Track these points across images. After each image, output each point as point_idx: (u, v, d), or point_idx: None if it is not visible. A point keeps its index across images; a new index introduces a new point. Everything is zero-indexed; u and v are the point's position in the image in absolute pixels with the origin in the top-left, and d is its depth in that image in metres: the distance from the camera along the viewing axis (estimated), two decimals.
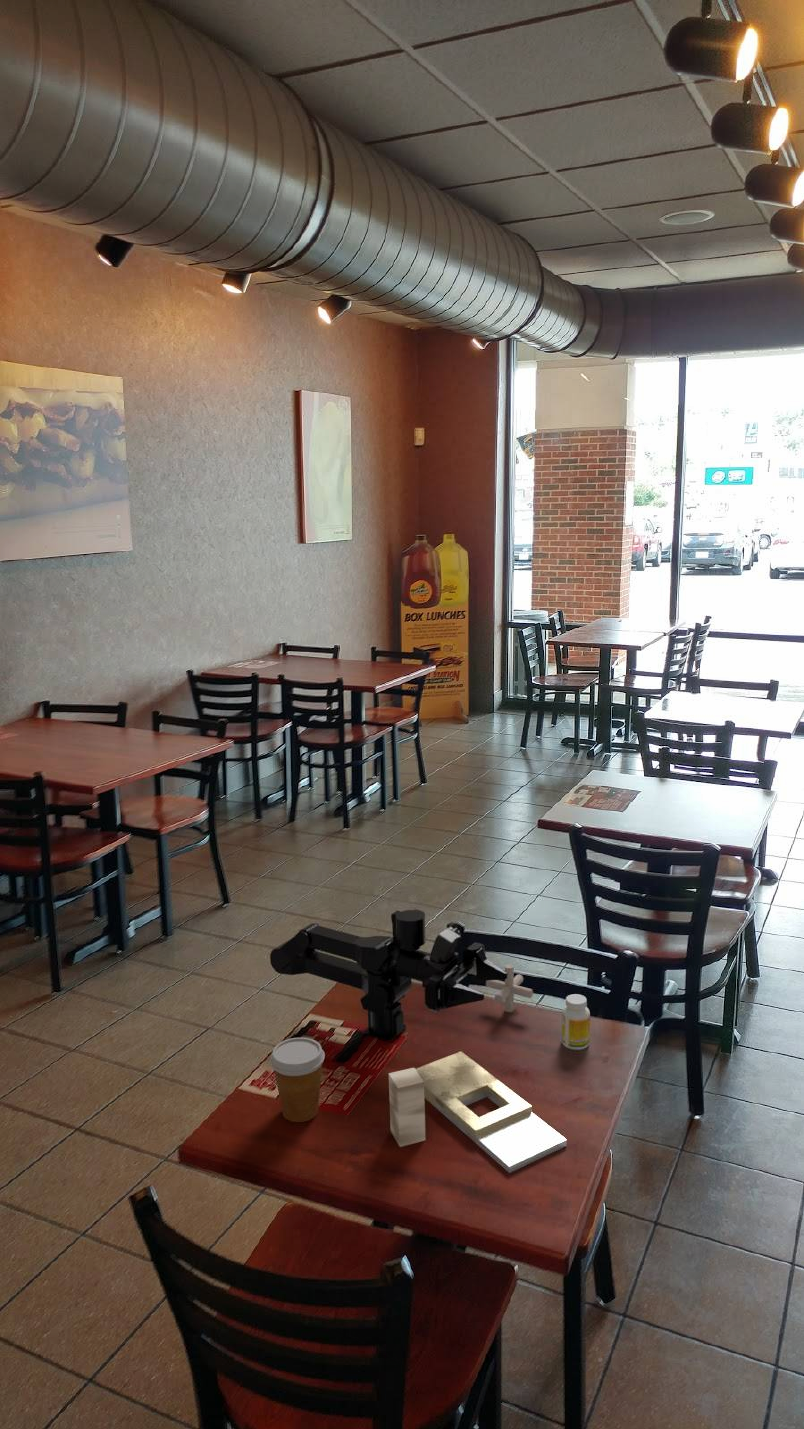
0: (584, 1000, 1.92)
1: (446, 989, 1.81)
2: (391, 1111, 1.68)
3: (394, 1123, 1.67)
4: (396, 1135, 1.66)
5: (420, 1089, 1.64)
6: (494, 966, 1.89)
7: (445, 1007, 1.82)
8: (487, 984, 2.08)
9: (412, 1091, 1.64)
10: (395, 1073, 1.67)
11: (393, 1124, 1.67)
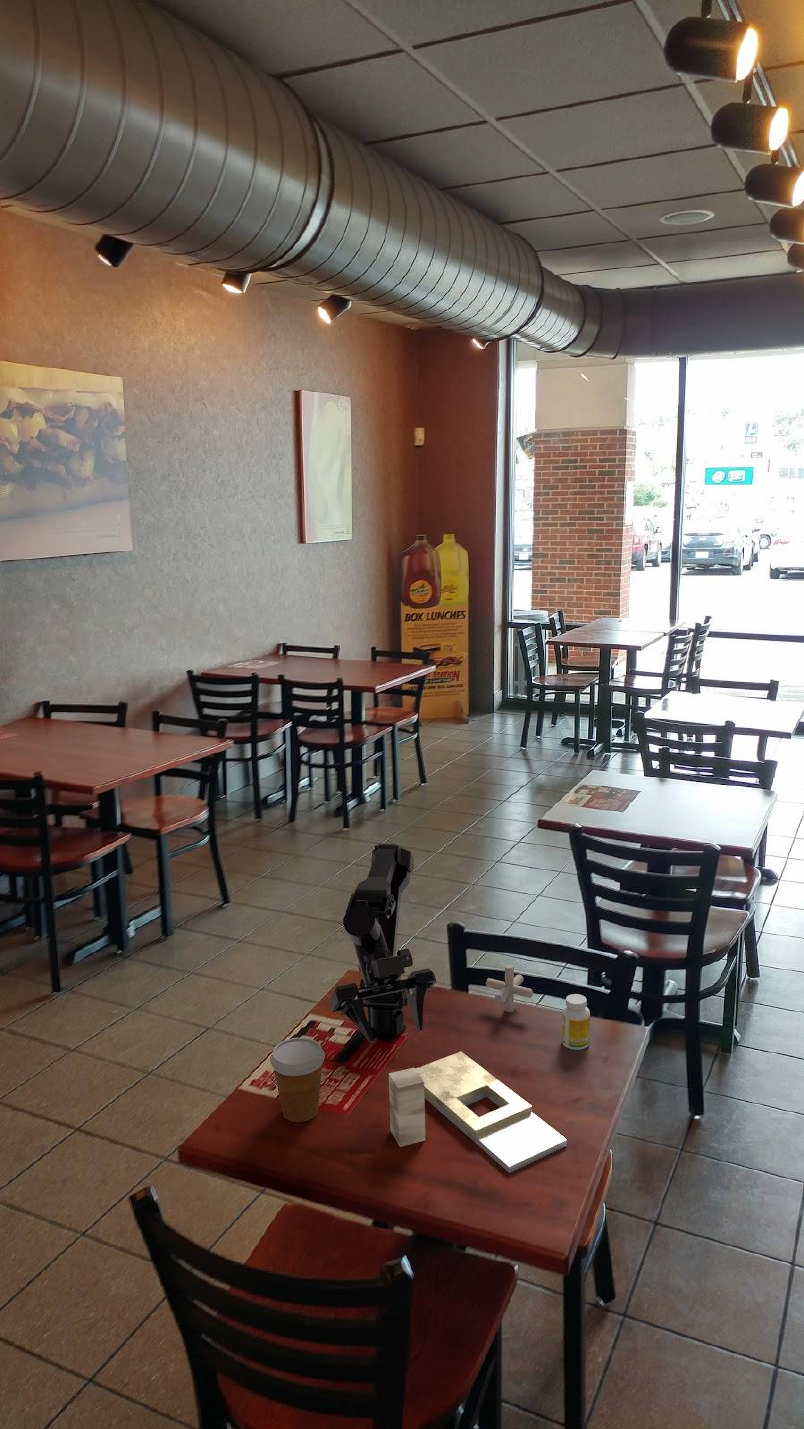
0: (584, 1000, 1.92)
1: (350, 1007, 1.73)
2: (391, 1111, 1.68)
3: (394, 1123, 1.67)
4: (396, 1135, 1.66)
5: (420, 1089, 1.64)
6: (420, 1012, 1.75)
7: (343, 1014, 1.75)
8: (487, 984, 2.08)
9: (413, 1091, 1.64)
10: (395, 1073, 1.67)
11: (393, 1124, 1.67)
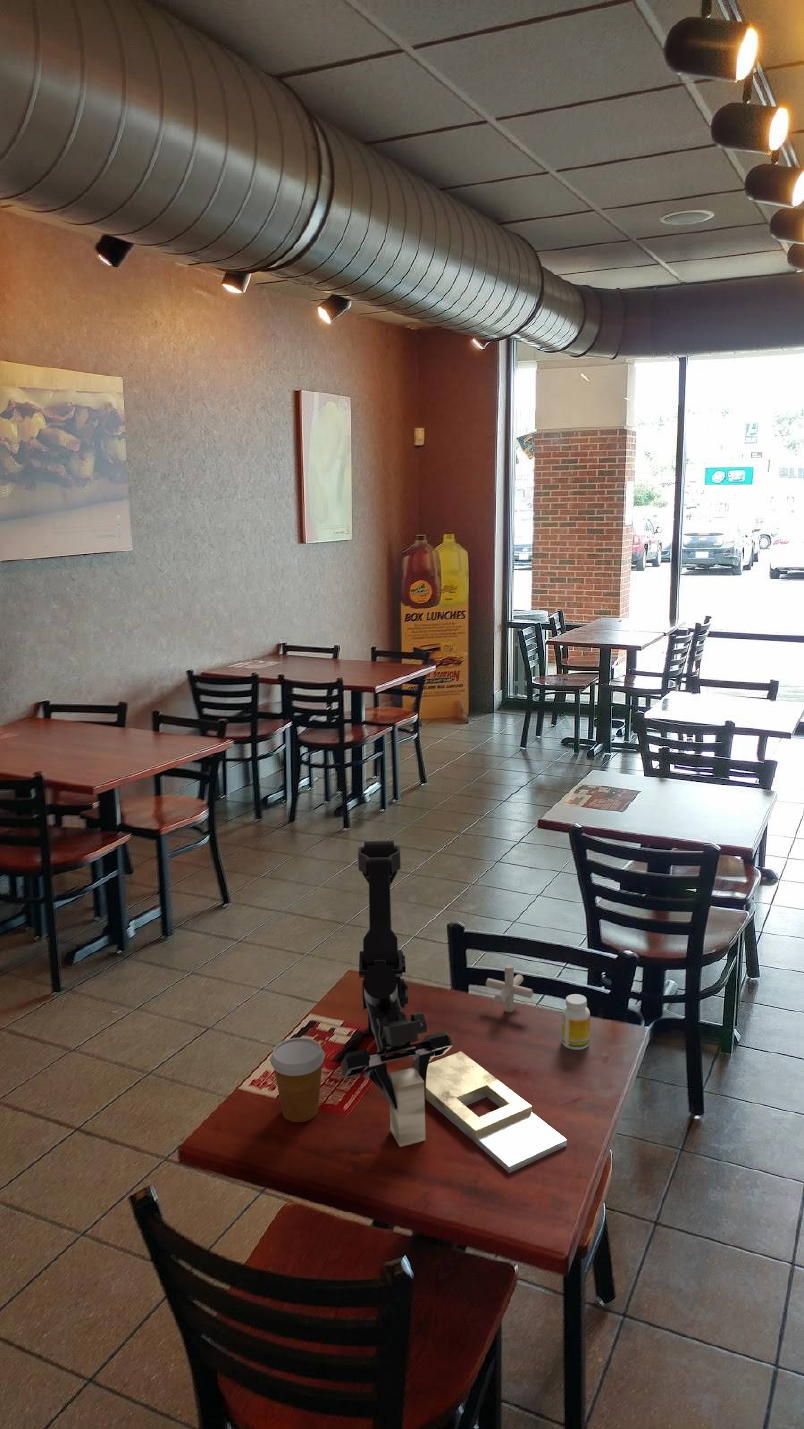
0: (584, 1000, 1.92)
1: (373, 1071, 1.66)
2: (391, 1111, 1.68)
3: (394, 1123, 1.67)
4: (396, 1135, 1.66)
5: (420, 1089, 1.64)
6: None
7: (367, 1077, 1.69)
8: (487, 984, 2.08)
9: (413, 1091, 1.64)
10: (395, 1073, 1.67)
11: (393, 1124, 1.67)
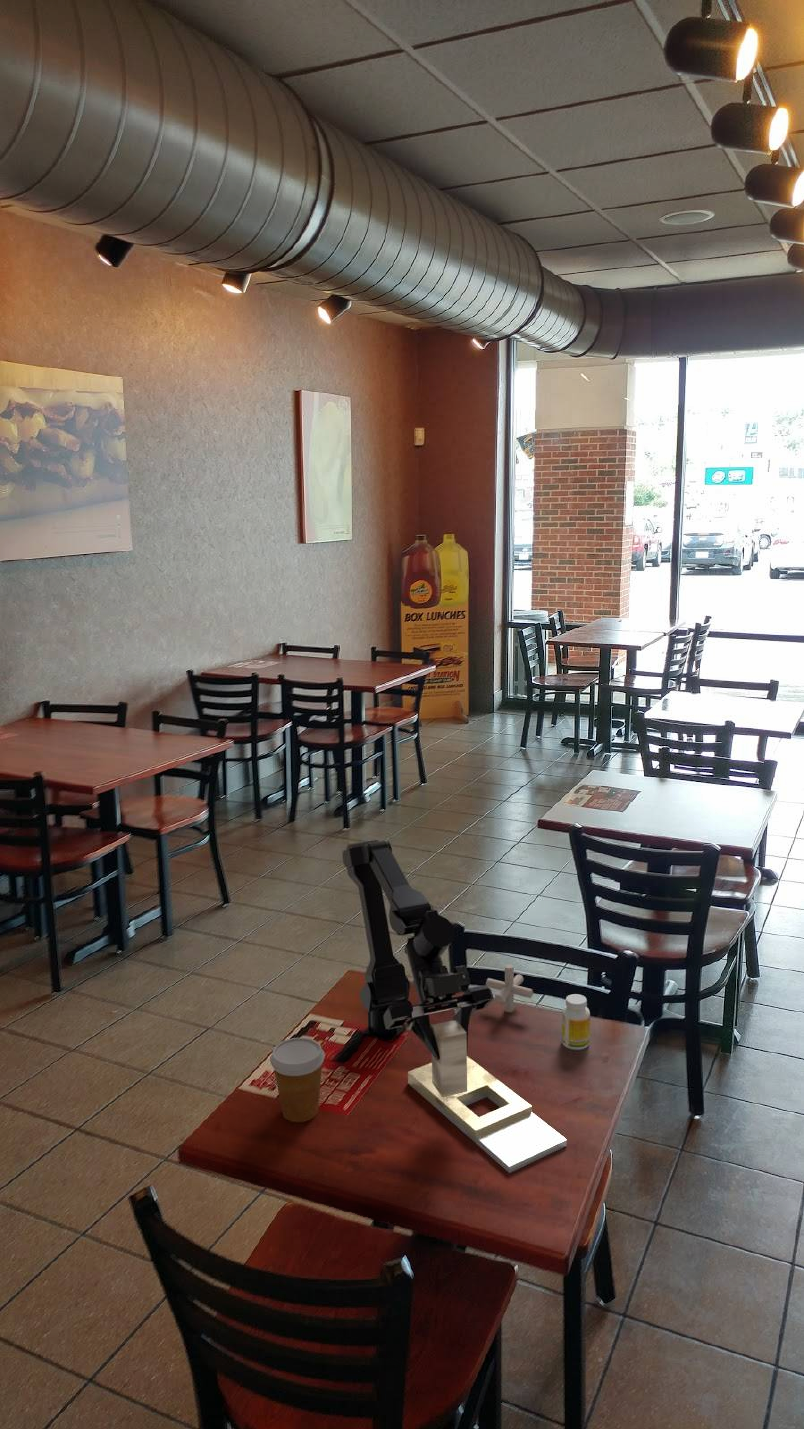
0: (584, 1000, 1.92)
1: (416, 1022, 1.68)
2: (433, 1062, 1.69)
3: (436, 1074, 1.68)
4: (438, 1086, 1.68)
5: (462, 1040, 1.66)
6: None
7: (409, 1029, 1.71)
8: (487, 984, 2.08)
9: (455, 1042, 1.66)
10: (437, 1025, 1.69)
11: (435, 1075, 1.69)
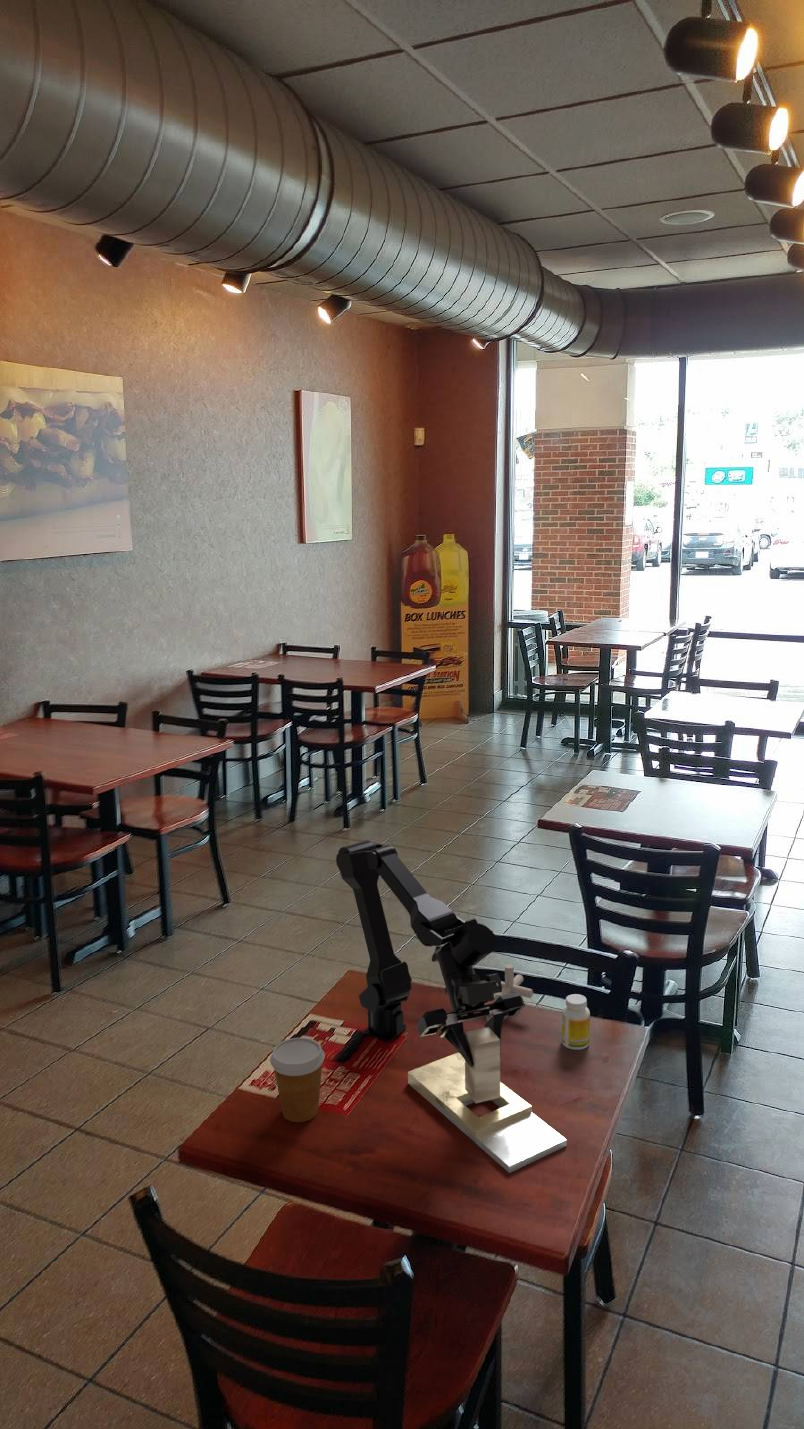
0: (584, 1000, 1.92)
1: (450, 1030, 1.71)
2: (466, 1069, 1.73)
3: (470, 1080, 1.72)
4: (472, 1092, 1.71)
5: (496, 1047, 1.69)
6: None
7: (442, 1036, 1.74)
8: None
9: (489, 1049, 1.69)
10: (471, 1032, 1.72)
11: (468, 1081, 1.72)
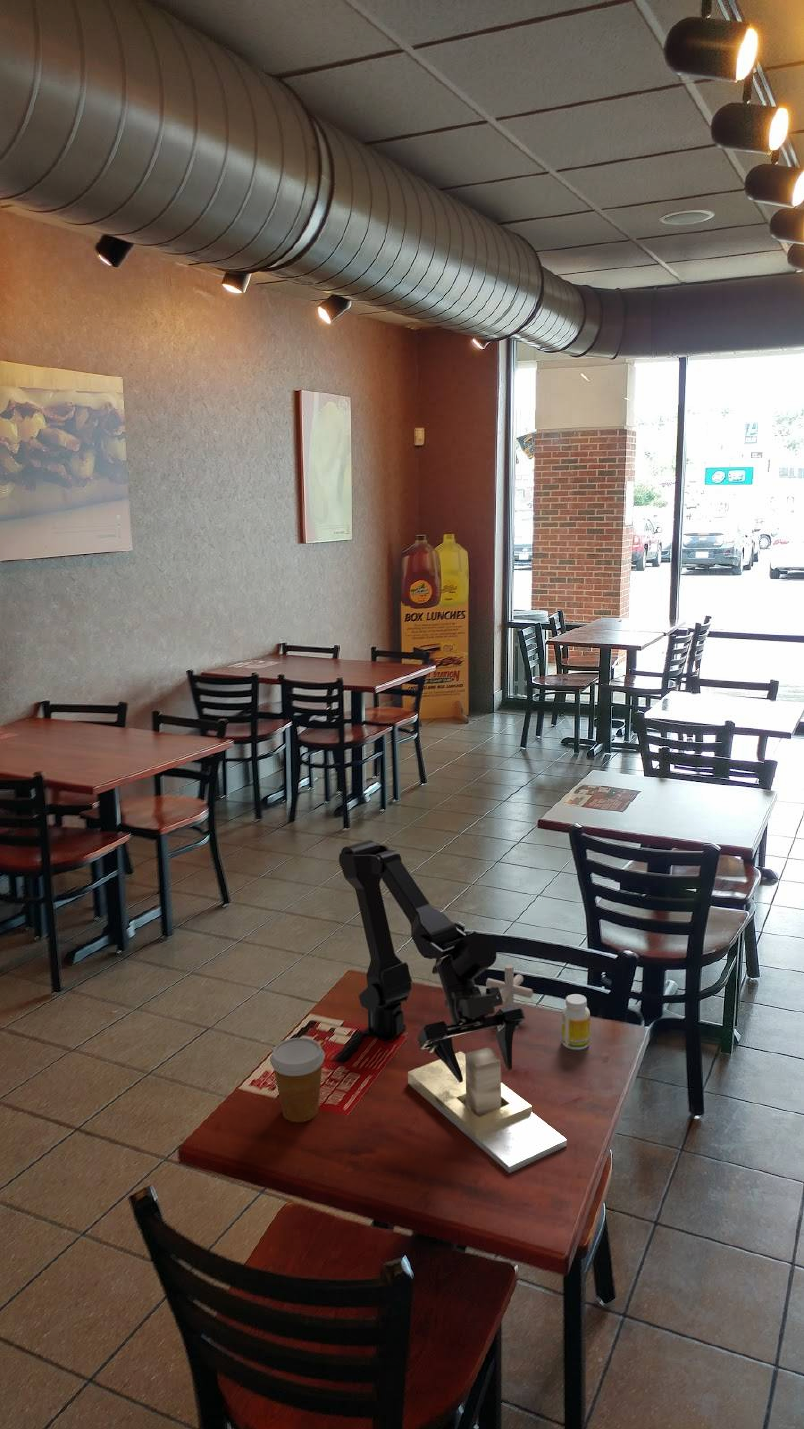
0: (584, 1000, 1.92)
1: (439, 1045, 1.71)
2: (467, 1089, 1.73)
3: (471, 1101, 1.72)
4: None
5: (497, 1067, 1.70)
6: (509, 1050, 1.73)
7: (431, 1051, 1.73)
8: (487, 984, 2.08)
9: (490, 1070, 1.70)
10: (471, 1053, 1.72)
11: (469, 1102, 1.73)
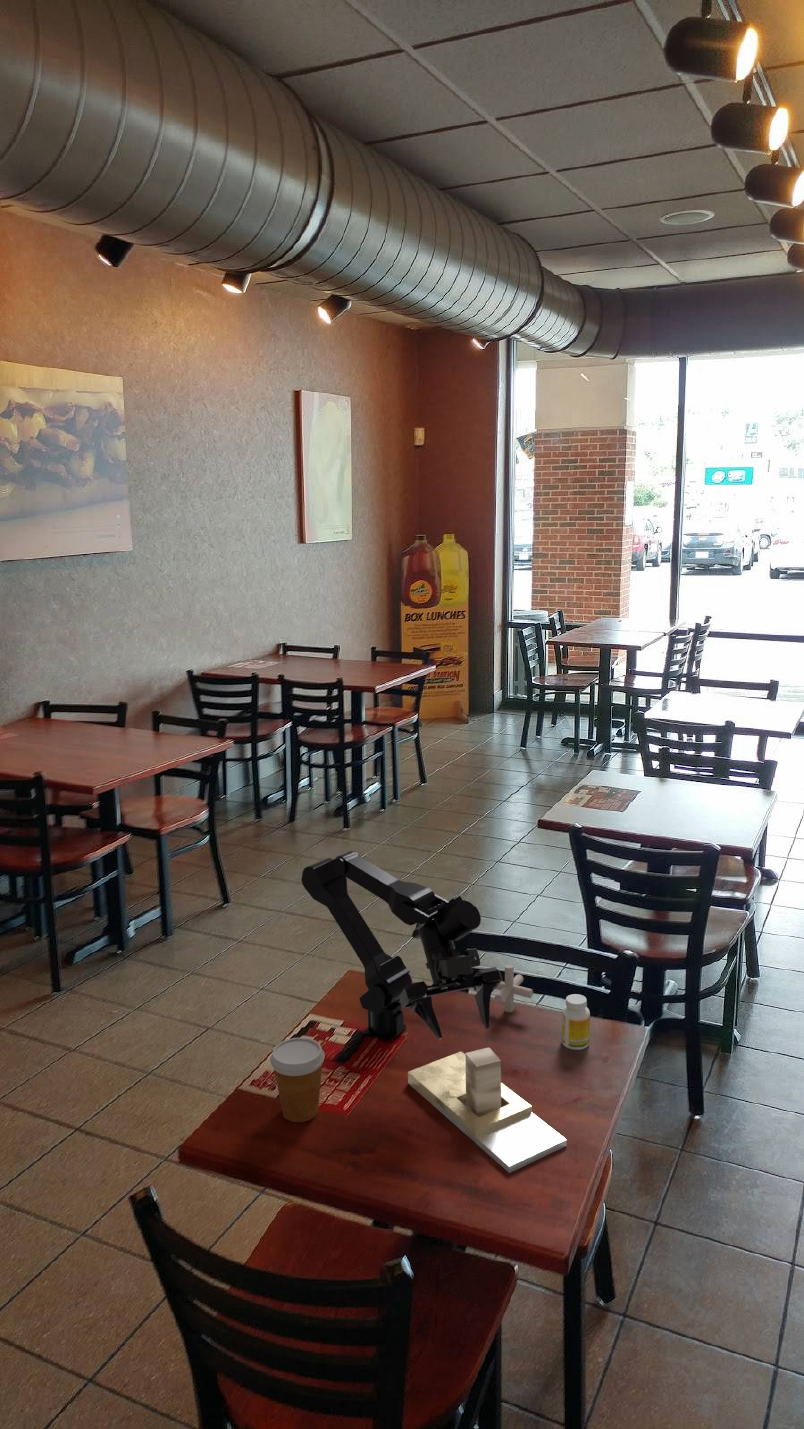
0: (584, 1000, 1.92)
1: (419, 1004, 1.78)
2: (467, 1090, 1.73)
3: (471, 1101, 1.72)
4: None
5: (497, 1068, 1.70)
6: (486, 1010, 1.80)
7: (412, 1010, 1.81)
8: None
9: (490, 1070, 1.70)
10: (471, 1053, 1.72)
11: (469, 1102, 1.73)
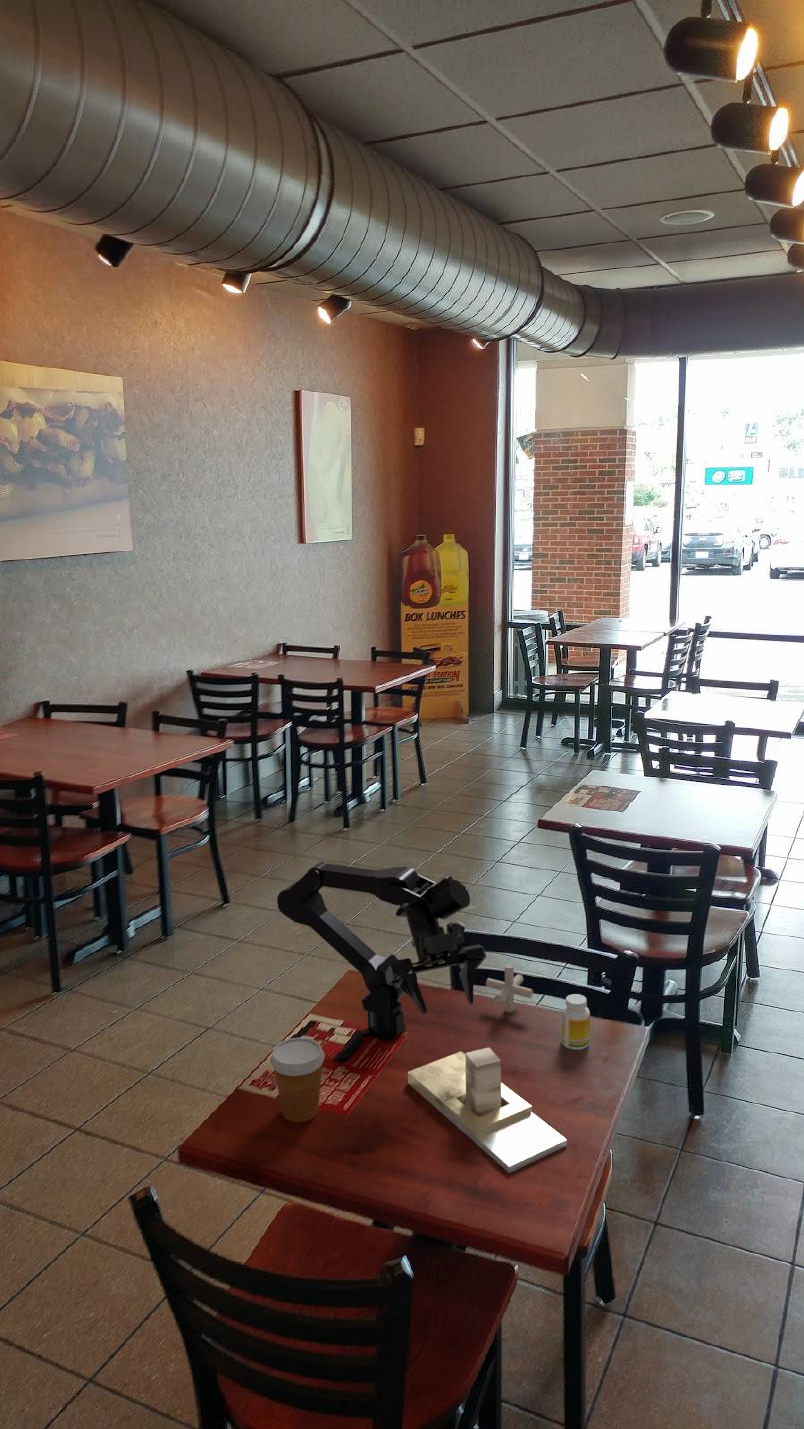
0: (584, 1000, 1.92)
1: (404, 980, 1.83)
2: (467, 1090, 1.73)
3: (471, 1101, 1.72)
4: None
5: (497, 1068, 1.70)
6: (470, 986, 1.85)
7: (398, 987, 1.85)
8: (487, 984, 2.08)
9: (490, 1070, 1.70)
10: (471, 1053, 1.72)
11: (469, 1102, 1.73)
